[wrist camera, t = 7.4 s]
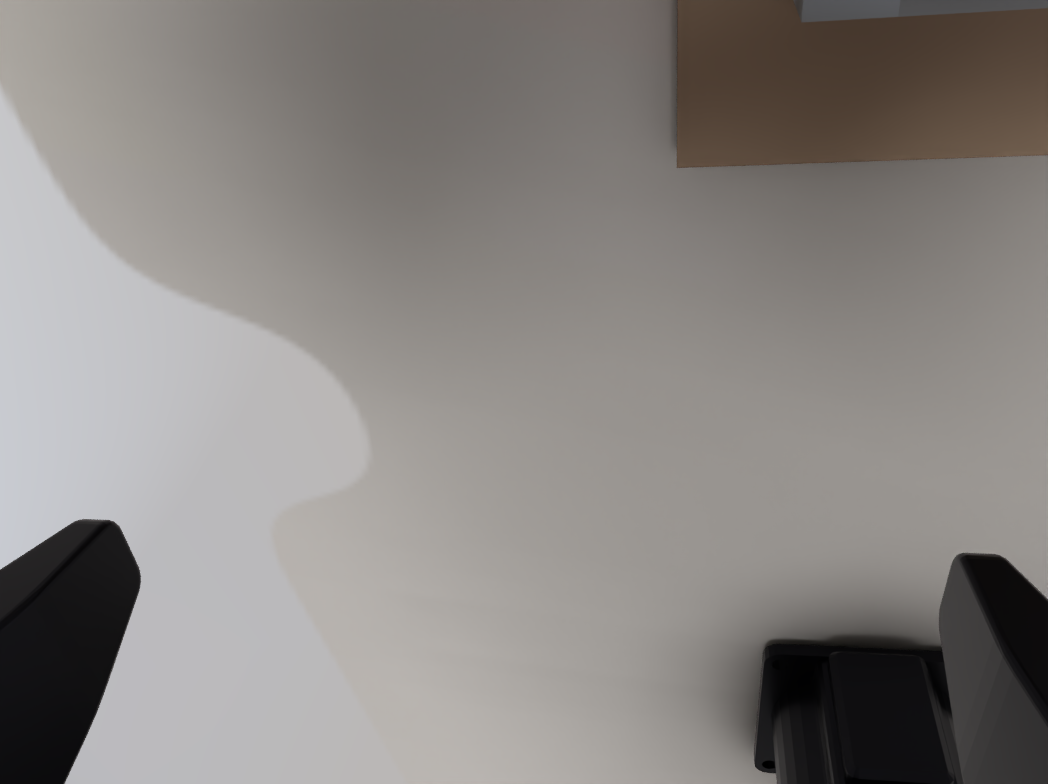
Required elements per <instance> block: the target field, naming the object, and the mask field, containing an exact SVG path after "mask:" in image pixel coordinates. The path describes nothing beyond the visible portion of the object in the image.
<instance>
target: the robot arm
mask: <svg viewBox="0 0 1048 784" xmlns="http://www.w3.org/2000/svg"><path fill="white" fill-rule="evenodd" d="M140 577H141V576H140V570H139V567H138V565H137V563H136V560H135V558H134V556H133V554H132V552H131V550H130V547H129V546H128V543H127V541H126V539H125V537H124V535H123V532H122V530H121V529H120V527H119V526H118V525H117V524H116V523H115V522H113V521H110V520H91V519H82V520H78V521H75V522H73V523H71V524H70V525H68V526H67V527H65V528H64V529H62V530H61V531H59V532H58V533H56V534H55V535H53V536H52V537H50V538H48V539H47V540H45V541H44V542H42V543H41V544H39V545H38V546H36V547H35V548H33V549H31V550H30V551H28V552H27V553H25V554H24V555H22V556H21V557H19V558H18V559H16V560H14V561H13V562H11V563H10V564H8V565H7V566H5V567H4V568H2V569H1V570H0V784H64V783H65V781H66V779H67V777H68V775H69V772H70V771H71V768H72V766H73V764H74V762H75V759H76V757H77V755H78V753H79V751H80V749H81V747H82V745H83V742H84V740H85V738H86V736H87V734H88V732H89V729H90V727H91V725H92V722H93V720H94V718H95V715H96V713H97V710H98V708H99V705H100V703H101V700H102V697H103V695H104V692H105V689H106V686H107V683H108V681H109V678H110V674H111V672H112V669H113V666H114V663H115V660H116V657H117V654H118V651H119V648H120V645H121V643H122V640H123V637H124V634H125V631H126V628H127V625H128V622H129V619H130V616H131V613H132V610H133V608H134V604H135V602H136V599H137V596H138V593H139V589H140V583H141V578H140ZM939 631H940V638H941V645H942V651H943V652H941V651H920V650H898V649H877V648H855V647H833V646H812V645H790V644H774V645H771V646H768V647H767V648H766V649H765V650H764V652H763V659H762V670H761V681H760V692H759V703H758V714H757V725H756V736H755V747H754V761H755V767H756V768H757V769H758V770H760V771H762V772H767V773H776V778H777V784H1048V599H1047V598H1046V597H1045V596H1044V595H1043V594H1042V593H1041V592H1040V591H1039V590H1038V589H1037V588H1036V587H1035V586H1034V585H1033V584H1032V583H1031V582H1029V581H1028V580H1027V579H1026V578H1025V577H1024V576H1023V575H1022V574H1021V573H1020V572H1019V571H1018V570H1017V569H1016V568H1015V567H1014V566H1013V565H1012V564H1011V563H1010V562H1009V561H1008V560H1006V559H1005V558H1003V557H1002V556H1000V555H996V554H977V553H961V554H958V555H957V556H956V557H955V558H954V560H953V562H952V565H951V568H950V572H949V576H948V579H947V583H946V587H945V591H944V594H943V598H942V602H941V605H940V611H939Z"/></svg>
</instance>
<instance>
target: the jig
mask: <svg viewBox="0 0 1048 784" xmlns="http://www.w3.org/2000/svg"><path fill="white" fill-rule="evenodd" d="M1034 155H1048V0H678V1H677V168H687V167H716V166H745V165H774V164H803V163H832V162H861V161H890V160H919V159H948V158H976V157H1005V156H1034Z"/></svg>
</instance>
